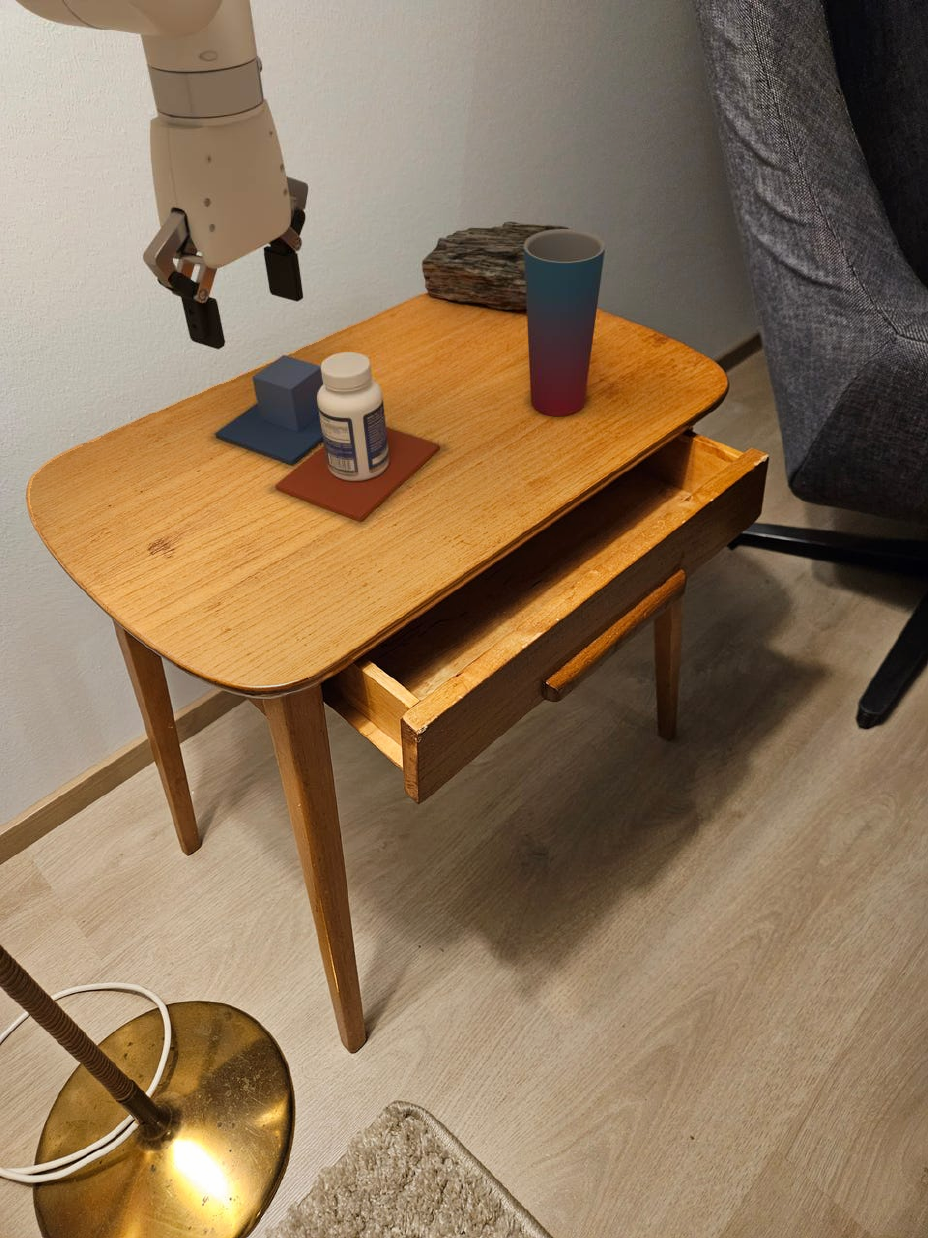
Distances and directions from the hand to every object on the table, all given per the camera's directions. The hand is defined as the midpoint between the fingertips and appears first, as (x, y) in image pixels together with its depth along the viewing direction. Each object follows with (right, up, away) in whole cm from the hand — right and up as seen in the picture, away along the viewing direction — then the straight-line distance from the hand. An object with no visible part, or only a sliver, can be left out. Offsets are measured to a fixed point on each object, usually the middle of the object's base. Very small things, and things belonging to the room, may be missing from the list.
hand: (249, 319), depth 79 cm
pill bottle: (+8, -11, +5) cm, 15 cm away
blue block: (+2, -5, +11) cm, 12 cm away
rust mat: (+9, -11, +5) cm, 15 cm away
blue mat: (+2, -6, +11) cm, 13 cm away
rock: (+16, +19, +27) cm, 36 cm away
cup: (+26, -4, +12) cm, 29 cm away
